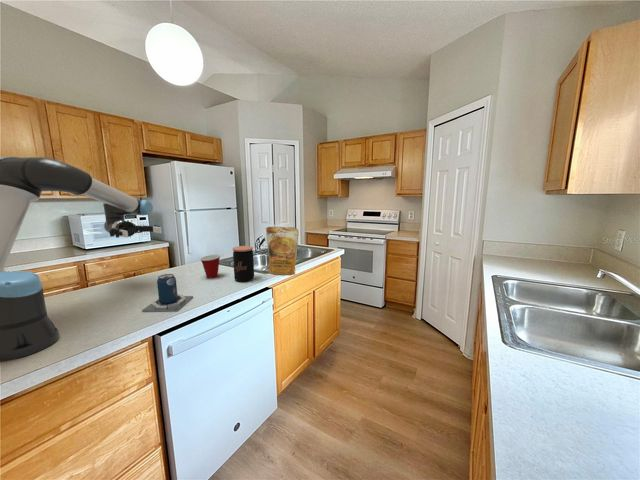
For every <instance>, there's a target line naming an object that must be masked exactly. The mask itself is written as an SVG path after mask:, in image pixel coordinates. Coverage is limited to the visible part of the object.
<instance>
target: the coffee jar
mask: <svg viewBox="0 0 640 480" xmlns="http://www.w3.org/2000/svg"><path fill="white" fill-rule="evenodd" d="M253 250H254V247H253V246H251V245H239V246H235V247H233V248H232V251H233V252H232V259H233V260H232V261H233V274H234V280H235V282H239V283H247V282H251V281H253V280H254V278H255V265H254V264H255V261H254V251H253Z"/></svg>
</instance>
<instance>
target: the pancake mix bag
mask: <svg viewBox="0 0 640 480" xmlns="http://www.w3.org/2000/svg"><path fill="white" fill-rule="evenodd" d="M265 233H266V243H267V252H268V263H269V269H268V270H269V271H268V274H271V275H276V276H294V275H296V262H297V253H298V245H299V229H298V228H297V227H295V226H294V227H291V226H290V227H286V226H267V227H265Z"/></svg>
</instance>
